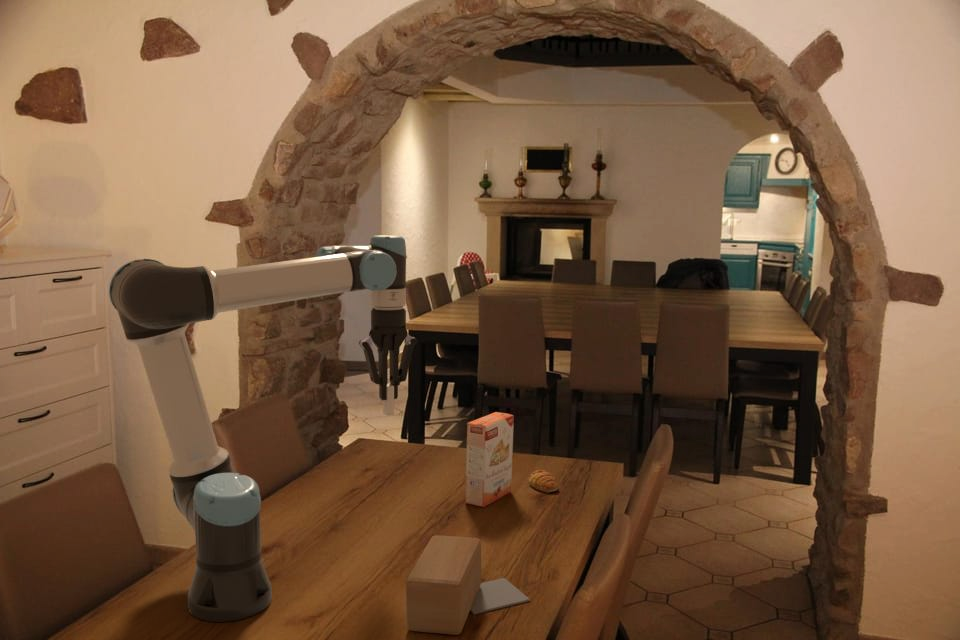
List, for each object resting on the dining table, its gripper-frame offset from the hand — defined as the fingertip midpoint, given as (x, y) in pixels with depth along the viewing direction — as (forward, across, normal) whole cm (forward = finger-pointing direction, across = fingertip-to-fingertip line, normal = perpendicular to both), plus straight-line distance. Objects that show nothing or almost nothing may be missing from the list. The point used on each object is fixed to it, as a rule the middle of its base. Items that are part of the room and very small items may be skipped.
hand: (388, 413), depth 187 cm
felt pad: (+28, +7, -35) cm, 46 cm away
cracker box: (+29, +32, +12) cm, 45 cm away
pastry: (+29, +49, +13) cm, 59 cm away
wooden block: (+23, +4, -28) cm, 36 cm away
